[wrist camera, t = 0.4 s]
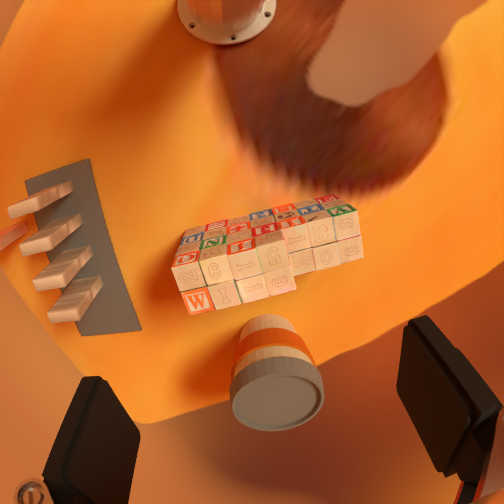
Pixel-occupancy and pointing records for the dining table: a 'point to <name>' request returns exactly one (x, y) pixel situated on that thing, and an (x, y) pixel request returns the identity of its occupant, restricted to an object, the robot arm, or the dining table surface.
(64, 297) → the cream domino
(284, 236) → the stack of blocks
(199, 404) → the dining table surface
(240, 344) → the reusable coffee cup
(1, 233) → the terracotta domino
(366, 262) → the dining table surface
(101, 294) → the slate mat
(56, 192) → the cream domino
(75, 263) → the cream domino
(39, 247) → the cream domino
